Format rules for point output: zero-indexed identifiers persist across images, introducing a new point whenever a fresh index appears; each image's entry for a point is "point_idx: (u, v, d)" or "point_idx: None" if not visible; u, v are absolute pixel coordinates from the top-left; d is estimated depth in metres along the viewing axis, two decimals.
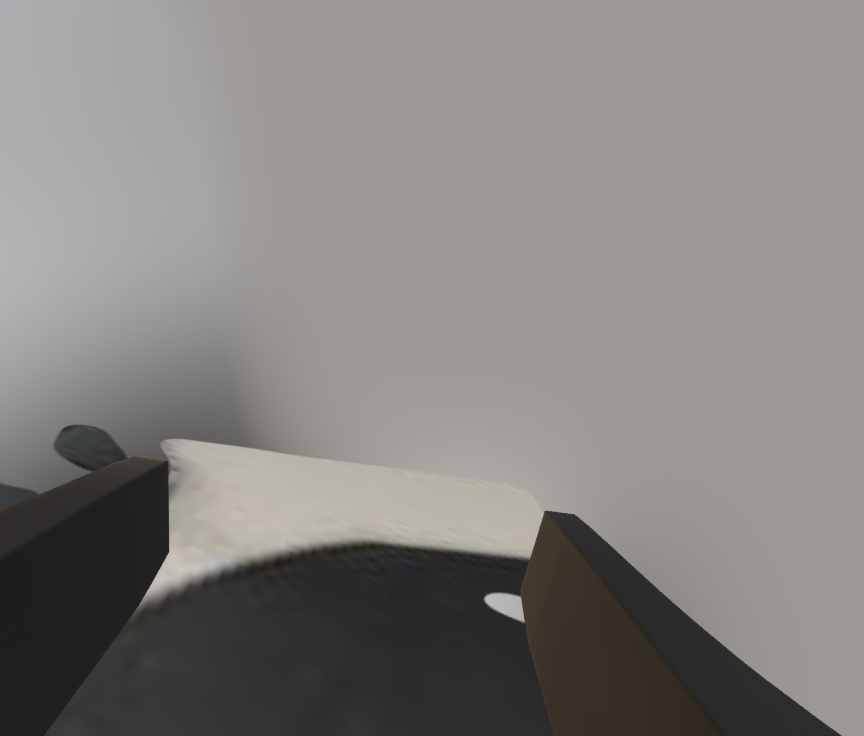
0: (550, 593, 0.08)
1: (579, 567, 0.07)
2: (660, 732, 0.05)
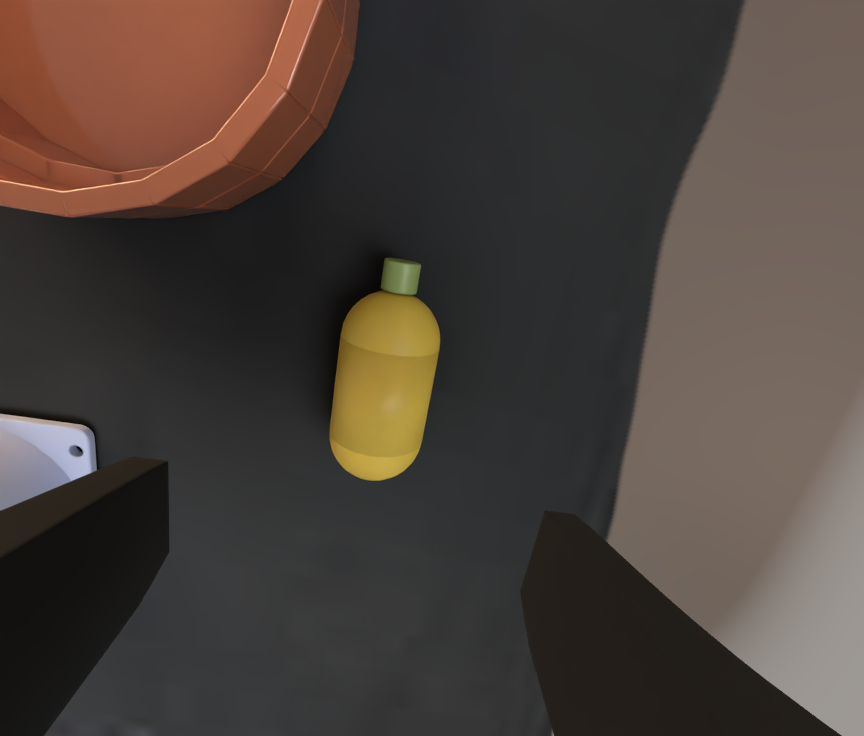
0: (550, 593, 0.08)
1: (579, 567, 0.07)
2: (660, 732, 0.05)
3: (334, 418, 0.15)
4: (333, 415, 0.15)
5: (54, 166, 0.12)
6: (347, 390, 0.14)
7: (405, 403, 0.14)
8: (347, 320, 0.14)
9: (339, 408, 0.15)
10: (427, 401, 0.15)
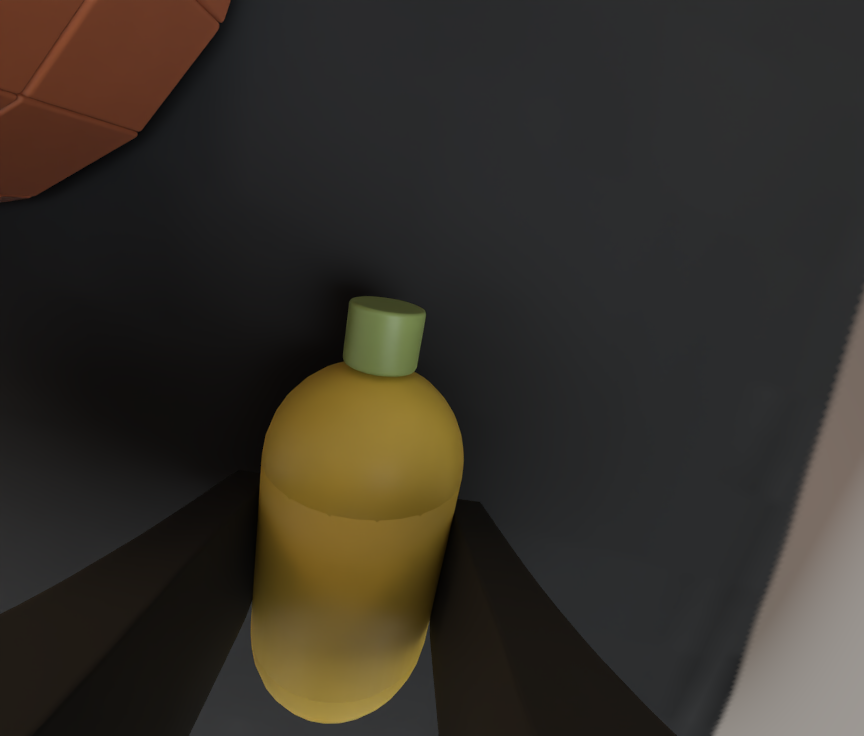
0: (445, 581, 0.07)
1: (462, 553, 0.07)
2: (493, 718, 0.05)
3: (254, 612, 0.08)
4: (253, 603, 0.08)
5: None
6: (271, 574, 0.07)
7: (393, 603, 0.07)
8: (271, 429, 0.07)
9: (260, 601, 0.07)
10: (438, 575, 0.08)
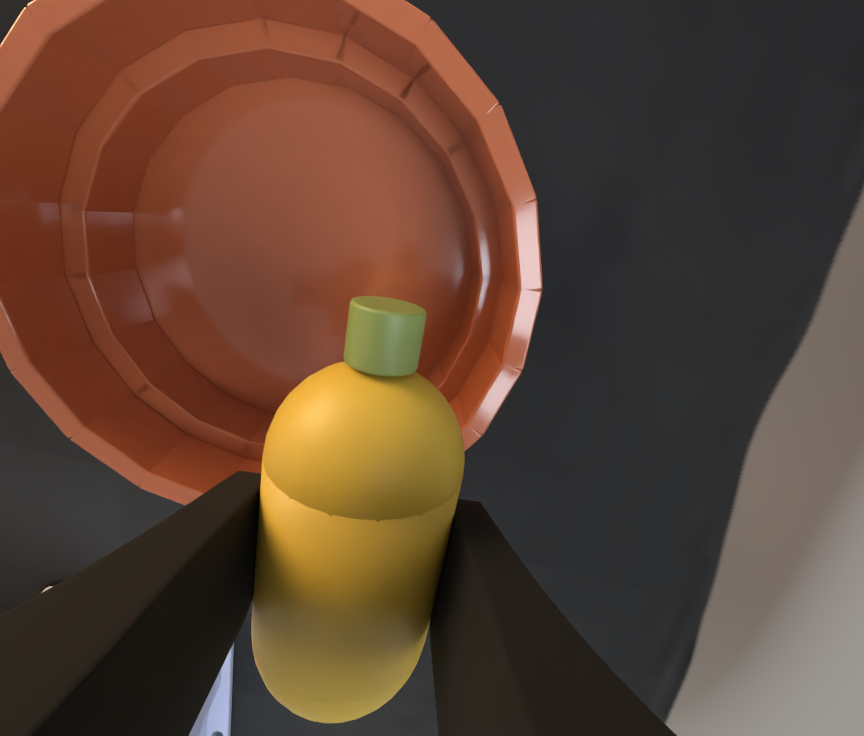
0: (444, 581, 0.07)
1: (462, 553, 0.07)
2: (493, 718, 0.05)
3: (255, 612, 0.08)
4: (254, 603, 0.08)
5: (251, 446, 0.14)
6: (273, 574, 0.07)
7: (394, 603, 0.07)
8: (272, 429, 0.07)
9: (261, 601, 0.07)
10: (439, 574, 0.08)
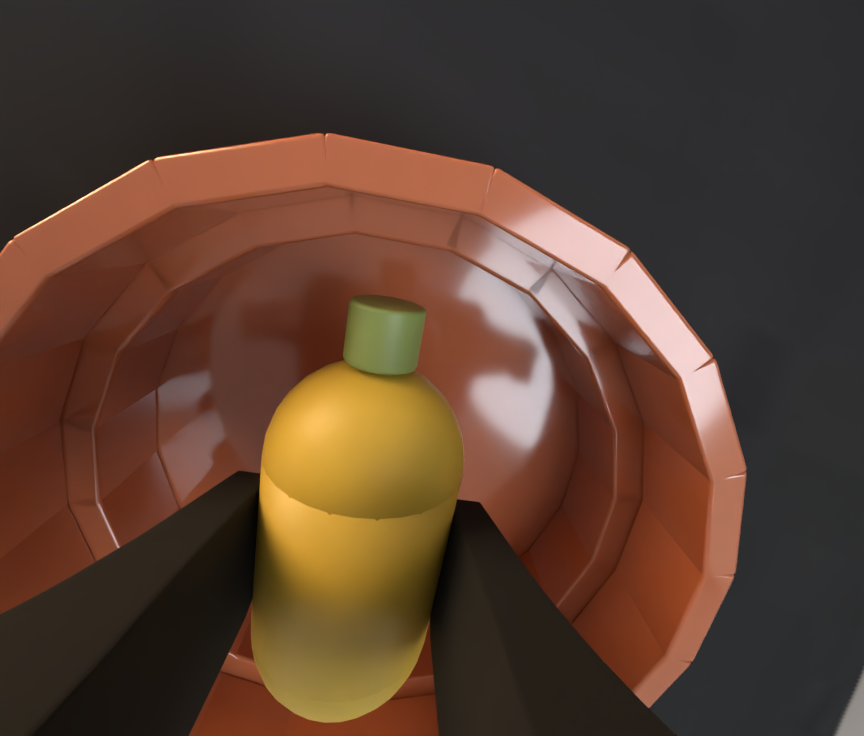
0: (444, 580, 0.07)
1: (462, 553, 0.07)
2: (493, 718, 0.05)
3: (254, 611, 0.08)
4: (253, 602, 0.08)
5: None
6: (271, 573, 0.07)
7: (393, 602, 0.07)
8: (271, 428, 0.07)
9: (260, 600, 0.07)
10: (438, 574, 0.08)
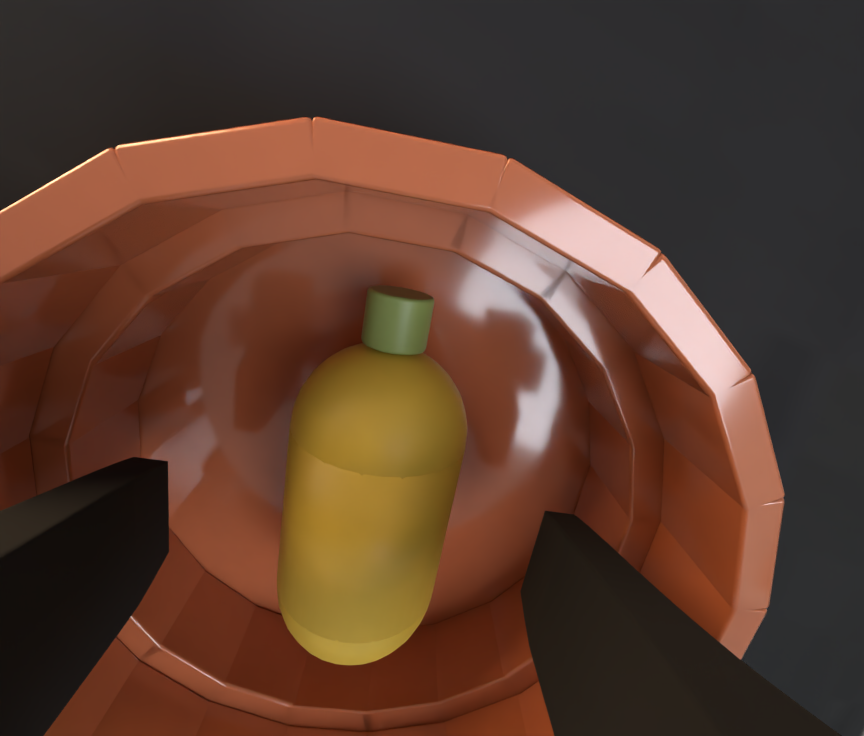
0: (550, 593, 0.08)
1: (579, 567, 0.07)
2: (659, 732, 0.05)
3: (283, 571, 0.08)
4: (281, 564, 0.09)
5: (296, 710, 0.10)
6: (305, 533, 0.08)
7: (413, 551, 0.08)
8: (301, 405, 0.08)
9: (291, 560, 0.08)
10: (446, 529, 0.09)
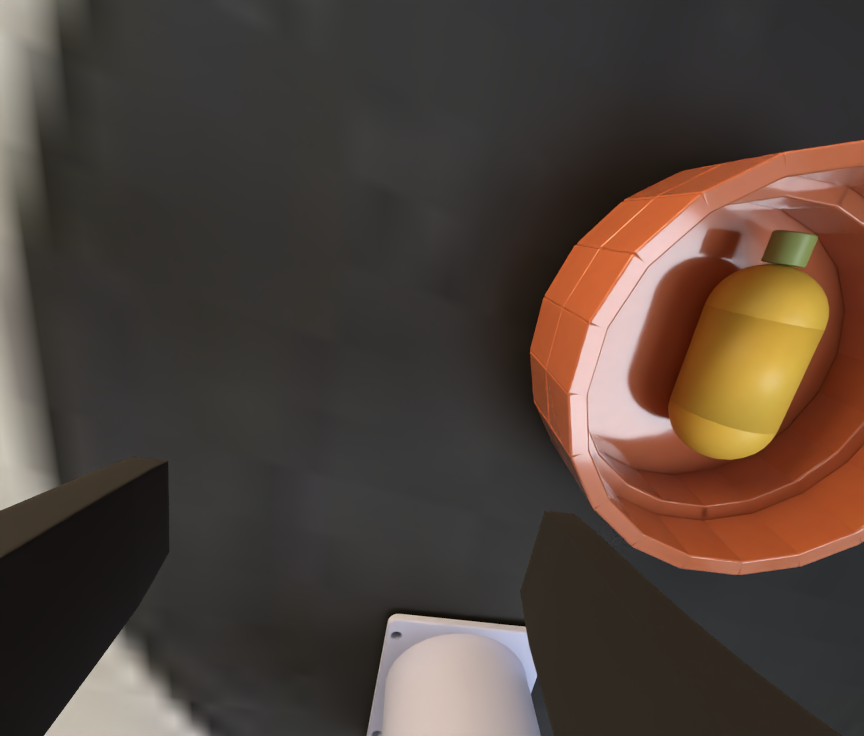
0: (550, 592, 0.08)
1: (579, 567, 0.07)
2: (660, 732, 0.05)
3: (717, 400, 0.14)
4: (713, 397, 0.15)
5: (663, 503, 0.17)
6: (752, 368, 0.14)
7: (802, 377, 0.14)
8: (752, 296, 0.14)
9: (733, 388, 0.14)
10: None
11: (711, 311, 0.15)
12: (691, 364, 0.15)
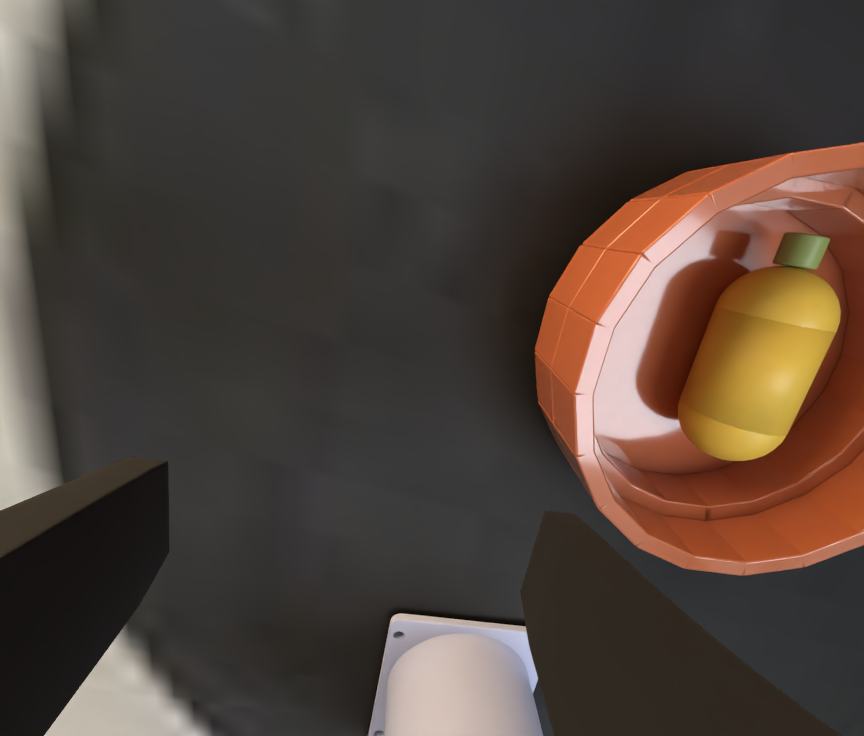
0: (550, 593, 0.08)
1: (579, 567, 0.07)
2: (660, 732, 0.05)
3: (735, 404, 0.14)
4: (731, 401, 0.14)
5: (667, 504, 0.17)
6: (772, 372, 0.14)
7: (813, 378, 0.14)
8: (771, 300, 0.14)
9: (752, 392, 0.14)
10: None
11: (726, 314, 0.15)
12: (705, 367, 0.15)
